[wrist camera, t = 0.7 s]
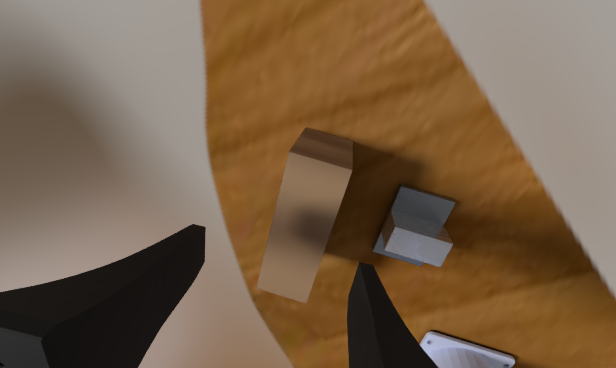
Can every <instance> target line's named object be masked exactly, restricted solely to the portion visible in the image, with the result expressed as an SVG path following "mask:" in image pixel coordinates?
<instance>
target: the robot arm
mask: <svg viewBox="0 0 616 368" xmlns="http://www.w3.org/2000/svg"><path fill="white" fill-rule="evenodd" d="M204 262H205V227H203V226H198V225H195V224H192V225H190V226H188V227H186V228H185V229H182V230H181V231H179V232H177V233H175V234H173V235H171V236H169V237H167V238H165V239H164V240H162V241H160V242H158V243H156V244H154V245H152V246H150V247H148V248H146V249H143V250H141V251H139V252H137V253H135V254H133V255H131V256H128V257H126V258H124V259H121V260H119V261H116V262H113V263H111V264H108V265H105V266H103V267H100V268H97V269H94V270H90V271H87V272H84V273H81V274H78V275H75V276H71V277H68V278H64V279H61V280H56V281H52V282H48V283H44V284H40V285H35V286H30V287H26V288H20V289H15V290H10V291H5V292H0V368H138V366H139V365H140V363H141V361H142V359H143V357H144V356H145V354H146V352H147V350H148V349H149V347H150V345H151V343H152V342H153V340H154V338H155V337H156V335H157V333H158V332H159V330H160V328H161V327H162V325H163V324H164V322H165V321H166V320H167V318H168V317H169V315H170V314H171V312H172V311H173V310H174V309H175V307H176V306H177V304H178V303H179V302H180V300H181V299H182V297H183V296H184V294H185V293H186V292H187V290H188V289H189V287H190V286H191V285H192V283H193V282H194V280H195V278H196V277H197V275H198V273H199V271H200V269H201V267H202V266H203V264H204ZM347 327H348V351H349V368H511V367H512V366H513V365H514V364H515V360H514V358H513V357H512V356H510V355H507V354H504V353H501V352H497V351H494V350H491V349H488V348H485V347H481V346H478V345H475V344H472V343H468V342H465V341H462V340H459V339H455V338H452V337H449V336H446V335H443V334H439V333H436V332H432V331H431V332H428V333H427V334H426V335H425V337H424V338H423V340H422V341H421V343H420V344H419V343H418V342H417V341H416V339H415V338H414V336H413V335H412V334H411V332H410V331H409V330H408V328H407V327H406V325H405V324H404V322H403V320H402V319H401V317H400V316H399V314H398V312H397V311H396V309H395V307H394V306H393V304H392V302H391V300H390V298H389V296H388V295H387V293H386V291H385V289H384V287H383V285H382V283H381V281H380V279H379V277H378V274H377V272H376V270H375V268H374V266H373V265H370V264H365V263H361V262H359V265H358V268H357V271H356V274H355V278H354V281H353V284H352V287H351V290H350V293H349V299H348V312H347ZM429 340H430V341H429Z"/></svg>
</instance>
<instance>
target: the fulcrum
mask: <svg viewBox="0 0 616 368" xmlns="http://www.w3.org/2000/svg"><path fill="white" fill-rule="evenodd" d="M455 203H456V202H455V201H454V199H452V198H449V197H445V196H442V195H438V194H435V193H432V192H428V191H425V190H422V189H418V188H415V187H411V186H408V185H405V184H401V183H400V185H399V187H398V190H397V192H396V194H395V196H394V199H393V201H392V203H391V206H390V208H389V210H388V213H387V215H386V217H385V219H384V222H383V224H382V226H381V229H380V231H379V233H378V236H377V238H376V240H375V242H374V245H373V247H372V248H373V252H375V253H379V254H382V255H385V256H389V257H392V258H395V259H399V260H402V261H405V262H408V263H412V264H415V265H418V266H422V264H423V262H425V263H428V264H432V265H435V266H438V267H441V265H442V263H443V261H444V260H445V258H446V256H447V254H448V253H449V251H450V249H451V248H452V246H453V243H452V241H451V239H450V237H449V235H448V233H447V231H446V229H445V228H444V226H443V225H444V224H445V222H446V220H447V218H448V216H449V214H450V212H451V211H452V209H453V207H454V205H455Z"/></svg>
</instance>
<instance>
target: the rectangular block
mask: <svg viewBox="0 0 616 368" xmlns="http://www.w3.org/2000/svg"><path fill="white" fill-rule="evenodd" d="M352 169H353V141H351V140H347V139H344V138H340V137H337V136H334V135H330V134H327V133H323V132H320V131H316V130H313V129H310V128H305V129H304V131H303V132H302V134H301V135H300V137H299V138H298V139H297V141H296V142H295V144H294V145H293V147H292V148H291V150H290V151H289V154H288V158H287V162H286V167H285V171H284V175H283V179H282V183H281V187H280V192H279V196H278V200H277V204H276V208H275V212H274V217H273V221H272V225H271V229H270V233H269V237H268V242H267V246H266V250H265V254H264V258H263V262H262V267H261V271H260V275H259V279H258V283H257V287H256V288H258V289H261V290H264V291H267V292H271V293H274V294H277V295H280V296H284V297H287V298H290V299H293V300H296V301H300V302H303V303H306V302H307V299H308V296H309V294H310V291H311V288H312V285H313V282H314V279H315V276H316V273H317V271H318V268H319V265H320V262H321V259H322V256H323V253H324V251H325V248H326V245H327V242H328V239H329V236H330V233H331V230H332V228H333V225H334V222H335V219H336V216H337V213H338V210H339V208H340V205H341V202H342V199H343V196H344V193H345V190H346V188H347V185H348V182H349V179H350V176H351V173H352Z"/></svg>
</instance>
